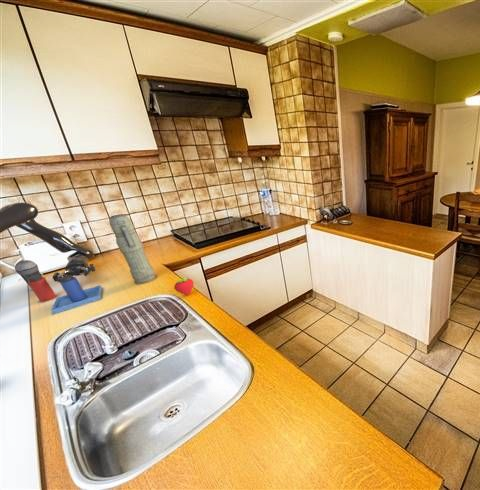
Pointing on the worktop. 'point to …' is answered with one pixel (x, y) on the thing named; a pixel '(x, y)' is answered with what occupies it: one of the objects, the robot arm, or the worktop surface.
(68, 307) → the blue tray
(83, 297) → the blue bottle
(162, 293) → the worktop surface
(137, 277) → the stone statue
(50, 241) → the robot arm
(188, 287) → the strawberry
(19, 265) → the beverage cup
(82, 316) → the worktop surface
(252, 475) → the worktop surface
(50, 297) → the red bottle
